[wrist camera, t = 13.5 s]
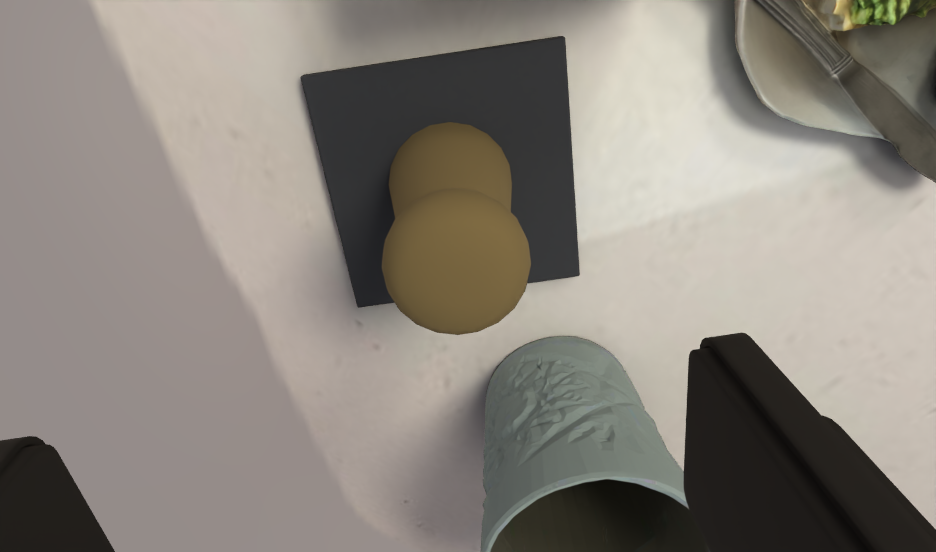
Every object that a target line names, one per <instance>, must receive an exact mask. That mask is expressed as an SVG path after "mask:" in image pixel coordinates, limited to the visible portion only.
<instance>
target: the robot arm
mask: <svg viewBox="0 0 936 552" xmlns="http://www.w3.org/2000/svg"><path fill="white" fill-rule="evenodd" d="M683 484H684V494H685V498H686V502H687V505H688V507H689V510H690V512H691V514H692V516H693V518H694V520H695V522H696V524H697V526H698V528H699V530H700V532H701V534H702V536H703V538H704V540H705V542H706V544H707V546H708V548H709V550H710V552H936V530H935V528H934V527H933V526H932V525H931V524H930V523H929V522H928V521H927V520H926V519H925V518H924V517H923V516H922V514H921V513H920V512H919V511H918V510H917V509H916V508H915V507H914V506H913V505H912V504H911V503H910V501H909V500H908V499H907V498H906V497H905V496H904V495H903V494H902V493H901V492H900V491H899V490H898V488H897V487H896V486H895V485H894V484H893V483H892V482H891V481H890V480H889V479H888V478H887V477H886V475H885V474H884V473H883V472H882V471H881V470H880V469H879V468H878V467H877V466H876V465H875V464H874V462H873V461H872V460H871V459H870V458H869V457H868V456H867V455H866V454H865V453H864V452H863V451H862V449H861V448H860V447H859V446H858V445H857V444H856V443H855V442H854V441H853V440H852V439H851V438H850V436H849V435H848V434H847V433H846V432H845V431H844V430H843V429H842V428H841V427H840V426H839V425H838V424H837V423H835V422H834V421H833V420H832V419H830V418H828V417H825V416H821V415H820V414H819V412H818V411H817V410H816V409H815V408H814V407H813V406H812V405H811V404H810V403H809V401H808V400H807V399H806V398H805V397H804V396H803V395H802V394H801V393H800V391H799V390H798V389H797V388H796V387H795V386H794V385H793V384H792V383H791V381H790V380H789V379H788V378H787V377H786V376H785V375H784V374H783V373H782V372H781V370H780V369H779V368H778V367H777V366H776V365H775V364H774V363H773V362H772V360H771V359H770V358H769V357H768V356H767V355H766V354H765V353H764V352H763V350H762V349H761V348H760V347H759V346H758V345H757V344H756V343H755V342H754V341H753V339H752V338H751V337H750V336H748V335H747V334H746V333H737V334H730V335H723V336H716V337H709V338H705V339H703V340H702V342H701V344H700V349H697V350H692V351H691V352H690V355H689V367H688V390H687V413H686V436H685V459H684V482H683ZM0 552H115V551H114V549H113V548H112V546H111V544H110V543H109V541H108V539H107V537H106V535H105V534H104V532H103V530H102V528H101V527H100V525H99V523H98V522H97V520H96V518H95V516H94V515H93V513H92V511H91V509H90V508H89V506H88V504H87V503H86V501H85V499H84V497H83V496H82V494H81V492H80V490H79V489H78V487H77V485H76V483H75V482H74V480H73V478H72V476H71V475H70V473H69V471H68V469H67V468H66V466H65V464H64V463H63V461H62V459H61V457H60V456H59V454H58V452H57V451H56V450H55V448H54V447H52V446H51V445H46V444H45V443H44V442H43V440H41V439H39V438H37V437H32V436H29V437H22V438H15V439H8V440H2V441H0Z"/></svg>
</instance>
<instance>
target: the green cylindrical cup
mask: <svg viewBox="0 0 936 552" xmlns="http://www.w3.org/2000/svg"><path fill="white" fill-rule="evenodd" d="M483 477H484V479H483V486H484V488H485V491H486V498H485V501H484V503H483V507H484V514H483V521H482V536H481V552H710V550H709V548H708V546H707V544H706V542H705V540H704V538H703V536H702V534H701V532H700V530H699V528H698V526H697V524H696V522H695V520H694V518H693V516H692V514H691V512H690V510H689V507H688V505H687V502H686V498H685V494H684V484H683V482H684V472H683V470H682V469H681V468H680V466H679V465H678V463H677V462H676V461H675V459H674V458H673V457H672V455H671V454H670V453H669V451H668V450H667V448H666V446H665V444H664V442H663V440H662V437H661V435H660V434H659V432H658V430H657V427H656V424H655V422H654V420H653V419H652V418H651V417H650V416H649V414H648V413H647V412H646V411H645V410H644V406H643V404H642V402H641V399H640V397H639V395H638V393H637V391H636V389H635V387H634V385H633V384H632V382H631V380H630V378H629V377H628V375H627V373H626V372H625V370H624V369H623V367H622V365H621V364H620V362H619V361H618V360H617V359H616V358H615V356H613V355H612V354H611V353H610V352H608V351H607V350H606V349H604V348H603V347H601V346H599V345H598V344H596V343H593V342H591V341H589V340H585V339H581V338H577V337H570V336H557V337H549V338H544V339H540V340H537V341H534V342H531V343H529V344H526V345H524V346H522V347H521V348H519V349H517V350H516V351H514V352H513V353H512V354H510V355H509V356H508V357H507V358H506V359H505V360H504V361H503V362H502V363H501V364H500V365H499V366H498V368H497V369H496V371H495V372H494V374H493V376H492V378H491V380H490V382H489V386H488V389H487V393H486V401H485V447H484V469H483Z"/></svg>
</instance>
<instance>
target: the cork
mask: <svg viewBox="0 0 936 552" xmlns="http://www.w3.org/2000/svg"><path fill="white" fill-rule="evenodd" d="M389 190H390V195H391V200H392V205H393V210H394V215H395V220H394V222H393V225H392V227H391V229H390V231H389V233H388V235H387V237H386V239H385V243H384V249H383V259H382V271H383V275H384V279H385V283H386V287H387V290H388V292H389V294H390V296H391V297H392V299H393V301H394V302H395V304H396V305H397V307H398V308H399V310H400V311H401V312H402V313H403V314H405V315H406V316H407V317H408V318H409V319H411V320H412V321H413V322H414V323H416V324H417V325H420V326H422V327H425V328H427V329H429V330H432V331H434V332H438V333H446V334H455V335H460V334H467V333H473V332H478V331H481V330H483V329H485V328H487V327H489V326H491V325H494V324H496V323H498V322H499V321H501V320H502V319H503V318H504V317H505V316H506V315H507V314H509V313H510V312H511V311H512V310H513V309H514V308H515V306H516V305H517V303H518V302H519V300H520V298H521V297H522V295H523V293H524V292H525V289H526V285H527V280H528V276H529V271H530V267H531V259H530V251H529V243H528V241H527V238H526V236H525V234H524V232H523V230H522V228H521V226H520V224H519V222H518V220H517V218H516V217H515V216H514V215H513V214H512V213H511V193H512V180H511V172H510V165H509V163H508V161H507V159H506V157H505V155H504V153H503V151H502V148H501V147H500V146H499V145H498V144H497V143H496V142H495V141H494V140H493V139H492V138H491V137H490V136H489V135H488V134H487V133H485V132H483V131H481V130H479V129H477V128H475V127H473V126H471V125H466V124H460V123H453V122H447V123H441V124H435V125H430V126H428V127H426V128H424V129H422V130H420V131H418V132H416V133H415V134H413V135H412V136H411V137H410V138H409V139H408V140H407V141H406V142H405V143H404V144H403V145H402V146H401V147H400V148H399V149H398V152H397V154H396V156H395V158H394V160H393V162H392V164H391V167H390V177H389Z"/></svg>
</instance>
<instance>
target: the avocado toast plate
mask: <svg viewBox="0 0 936 552" xmlns="http://www.w3.org/2000/svg"><path fill="white" fill-rule="evenodd" d="M735 45H736V48H737V51H738V54H739V56H740V58H741V60H742V64H743V66H744V69H745V71H746V74H747V76H748V78H749V80H750V82H751V84H752V86H753V88H754V89H755V91H756V94H757V96H758V98H759V100H760V101H761V103H763V104H764V105H766V106H767V107H768V108H769V109H770V110H772V112H774V113H775V114H776V115H778V116H780V117H782V118H785V119H787V120H790V121H793V122H795V123H798V124H801V125H804V126H809V127H813V128H819V129H826V130H831V131H837V132H842V133H847V134H850V135H857V136H865V137H873V138H880V139H884V140H887V141H889V142H891V143H892V144H893V145H894V147H895V148H896V150H897V152H898V154H899V156H900V157H901V158H903V159H904V160H905V161H906V162H907V163H908V164H909V165H910V166H911V167H913V168H914V169H915V170H917V171H918V172H919V173H921V174H922V175H924V176H925V177H927V178H929V179H931V180H933V181H934V182H936V0H735Z"/></svg>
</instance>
